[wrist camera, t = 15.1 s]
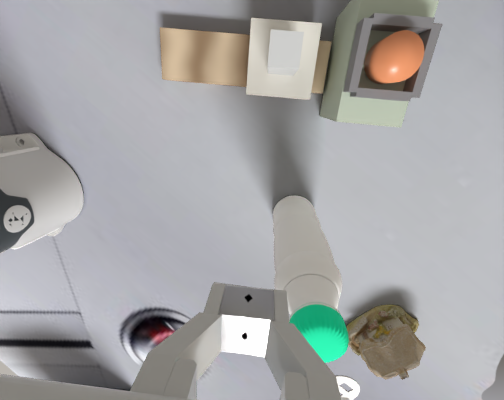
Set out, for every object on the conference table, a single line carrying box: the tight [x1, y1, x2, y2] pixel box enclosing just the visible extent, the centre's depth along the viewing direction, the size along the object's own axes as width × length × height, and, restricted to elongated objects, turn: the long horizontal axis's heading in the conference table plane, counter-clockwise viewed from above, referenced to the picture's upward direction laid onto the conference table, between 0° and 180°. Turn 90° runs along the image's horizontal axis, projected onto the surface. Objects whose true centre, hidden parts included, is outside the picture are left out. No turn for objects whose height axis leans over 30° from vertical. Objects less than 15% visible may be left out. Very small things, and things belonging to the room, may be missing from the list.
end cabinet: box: [320, 0, 442, 127], centre depth 29 cm, size 7×12×12 cm, turn 175°
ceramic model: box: [346, 305, 426, 380], centre depth 46 cm, size 14×11×10 cm
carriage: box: [246, 18, 322, 100], centre depth 28 cm, size 8×8×10 cm
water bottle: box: [273, 195, 349, 363], centre depth 31 cm, size 7×7×25 cm
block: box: [160, 28, 332, 94], centre depth 34 cm, size 22×6×2 cm, turn 85°
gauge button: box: [364, 30, 424, 84], centre depth 23 cm, size 4×4×3 cm
